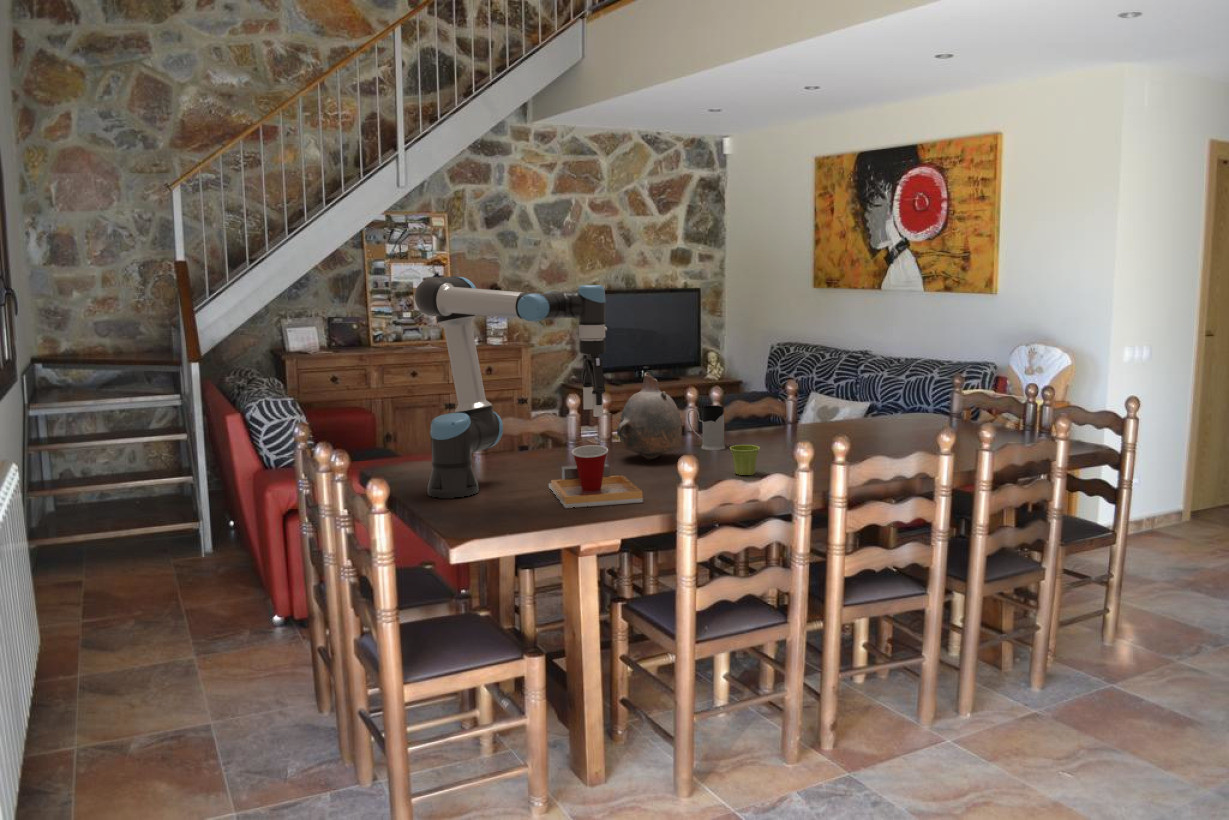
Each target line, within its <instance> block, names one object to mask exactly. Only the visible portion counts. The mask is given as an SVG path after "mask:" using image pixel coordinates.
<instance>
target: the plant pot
mask: <svg viewBox="0 0 1229 820" xmlns="http://www.w3.org/2000/svg"><path fill="white" fill-rule="evenodd" d="M729 449H730V451H731V456H732V459H733V461H732V462H733V468H734V474H735V473H736V474H737V475H738V474H739V475H738V476H740V475H749V476H753V474H754V475H755V474H756V472H755V471H756V464H757V458H758V454H759V450H760V449H761V448H760V446H758V445H753V444H737V445H732V446H730V447H729ZM736 474H735V475H736Z"/></svg>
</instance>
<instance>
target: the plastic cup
mask: <svg viewBox="0 0 1229 820" xmlns="http://www.w3.org/2000/svg"><path fill="white" fill-rule="evenodd" d="M608 452H609V449H608V447H606V446H605V445H604V446H603V445H599V444H598V445H596V444H592V445H591V444H590V445H582V446H578V447H574V448H573V449H571V454H572V455H573V457H574V460H575V466H577V470H578V474H579V479H580V482H581V487H582V489H583V490H586V491H595V490H599V489H601V486H602V478H603V472H604V464H606V463H605V462H606V457H607V454H608Z"/></svg>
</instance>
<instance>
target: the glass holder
mask: <svg viewBox="0 0 1229 820" xmlns="http://www.w3.org/2000/svg"><path fill="white" fill-rule="evenodd" d="M724 410H725V409H724V406H722V405H705V406H702V420H701V418H700V413H699V411H698V410H697V409H695V408H693V409H690V410H689V411H688V412H687V422H688V424H689V427H690V430H691V431H692V432H693V433H694V434H695V435H696V436H697V437H699V438H700V440H701V442H702V445H701V450H706V451H720V450H721V449H722V450H726V446H725V412H724ZM692 411H694V412H696V413H697V417H698V418H697V420H698V421H699V422H701V423H702V430H701V431H702V436H701V435H700V434H698V432H697V431H695V429H694V428H693V427H692V425H691V422H690V412H692Z"/></svg>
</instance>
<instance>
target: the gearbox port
mask: <svg viewBox="0 0 1229 820" xmlns="http://www.w3.org/2000/svg"><path fill="white" fill-rule="evenodd" d="M610 470H611V467H610V465H609V464H608V463H605V464H604V472H603V478H602V486H601V489H599V490H595V491H586V490H583V489H582V487H581V482H580V479H579V474H578V470H577V465H567V466H566V465H565V466H561V479H551V481H550V482H549V483H548V489H549V490H550V489H551V490H552V491H553V492H552V491H551V490H550V491H551V492H552V493H553V495H554V494H555V495H556V496H555V495H554V496H555V497H556V499H559V500H560V501H559V500H558V501H559V502H560V503H561V505H562V504H563V505H562V506H563V507H564V508H565V509H573V507H575V508H584V507H585V508H588V507H599V506H613V505H614V506H615V505H624V504H639V503H640V504H641V503H644V501H643V500H644V498H643V490H641V489H640V488H639V487H638V486H637V485H636V484H634V483H633V482H632V481H631V480H629V479H628V478H627V476H625V475H623V474H622V475H611V471H610ZM587 506H588V507H587Z"/></svg>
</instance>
